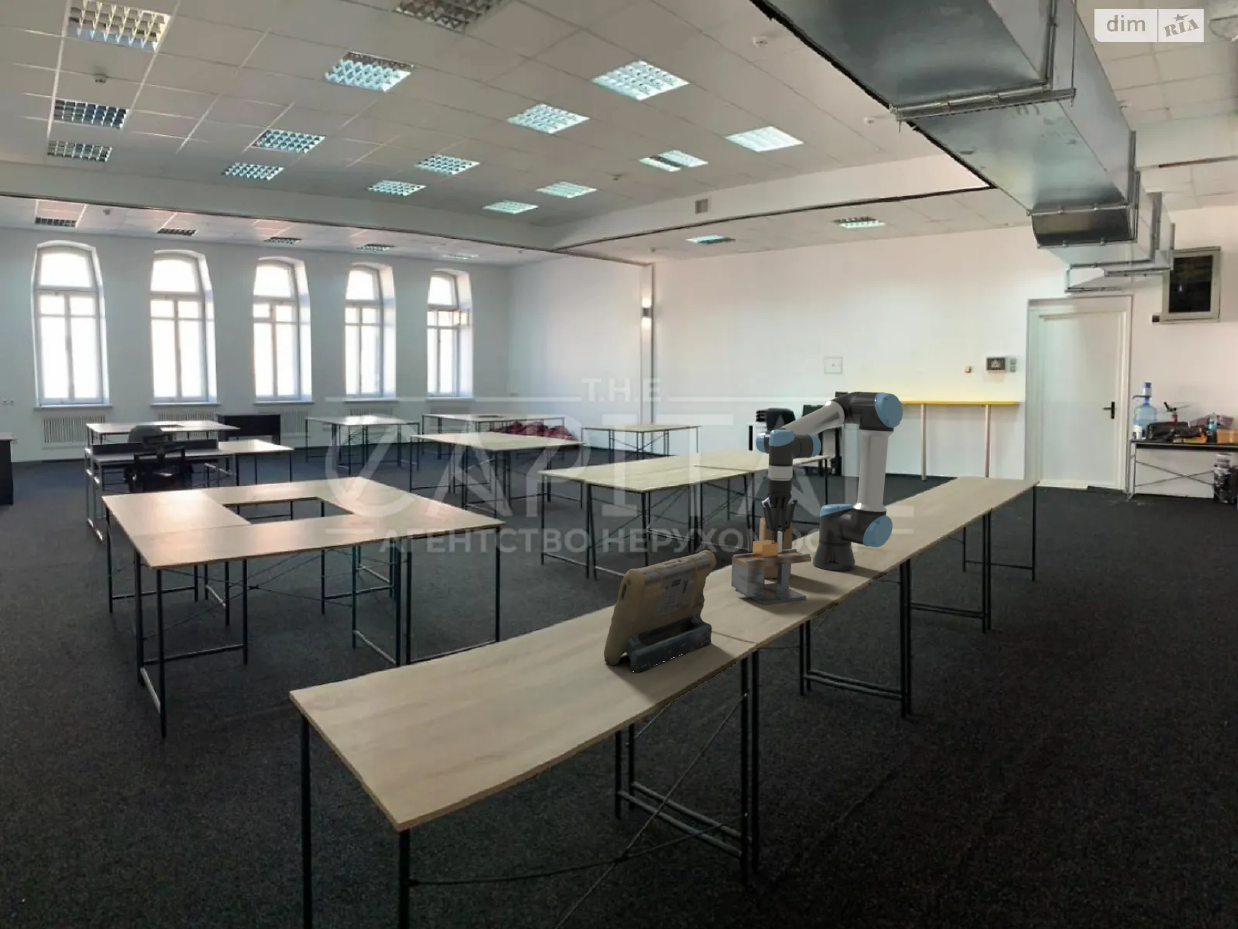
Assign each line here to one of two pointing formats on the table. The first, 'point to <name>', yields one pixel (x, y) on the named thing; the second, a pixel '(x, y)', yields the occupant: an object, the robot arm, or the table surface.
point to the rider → (765, 549)
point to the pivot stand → (776, 589)
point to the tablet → (660, 612)
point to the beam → (759, 568)
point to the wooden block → (767, 535)
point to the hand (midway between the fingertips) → (777, 551)
